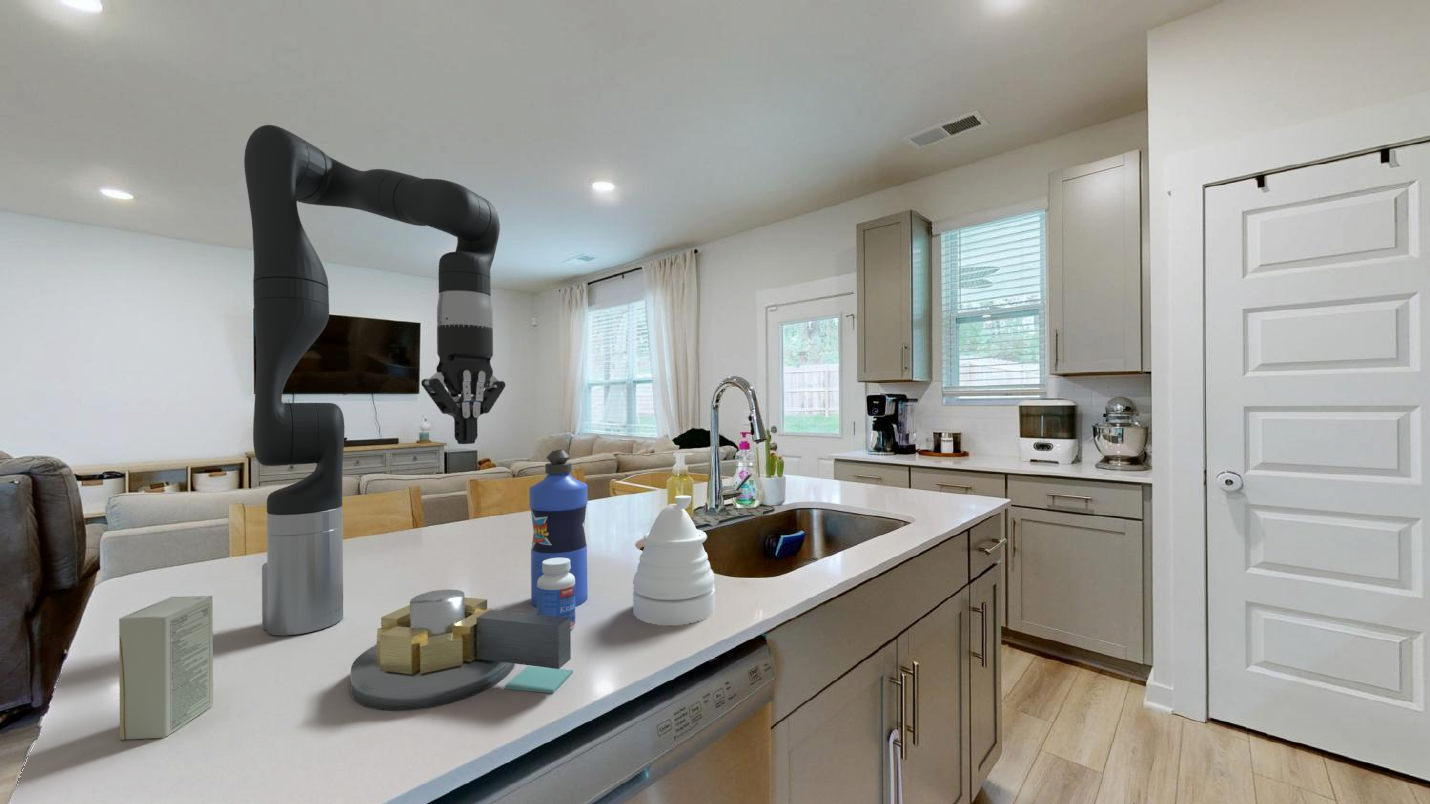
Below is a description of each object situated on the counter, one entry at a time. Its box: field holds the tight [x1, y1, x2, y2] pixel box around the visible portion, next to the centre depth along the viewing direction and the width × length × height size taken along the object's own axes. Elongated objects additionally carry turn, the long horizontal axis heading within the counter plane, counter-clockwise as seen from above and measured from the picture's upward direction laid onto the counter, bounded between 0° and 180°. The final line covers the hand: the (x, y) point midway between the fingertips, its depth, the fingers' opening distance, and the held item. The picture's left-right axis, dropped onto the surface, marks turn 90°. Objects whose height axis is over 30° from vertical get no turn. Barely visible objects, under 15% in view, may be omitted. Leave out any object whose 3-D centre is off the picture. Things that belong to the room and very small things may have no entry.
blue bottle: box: [528, 449, 589, 609], centre depth 94 cm, size 9×9×25 cm
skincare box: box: [118, 595, 214, 741], centre depth 58 cm, size 6×4×12 cm
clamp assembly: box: [376, 596, 572, 674], centre depth 68 cm, size 24×13×5 cm, turn 74°
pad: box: [504, 665, 574, 694], centre depth 67 cm, size 6×5×1 cm
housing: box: [350, 589, 516, 712], centre depth 69 cm, size 18×18×9 cm
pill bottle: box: [536, 558, 576, 631], centre depth 82 cm, size 6×5×10 cm
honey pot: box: [632, 494, 716, 626], centre depth 89 cm, size 13×13×18 cm
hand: (466, 443), depth 83 cm, fingers closed
